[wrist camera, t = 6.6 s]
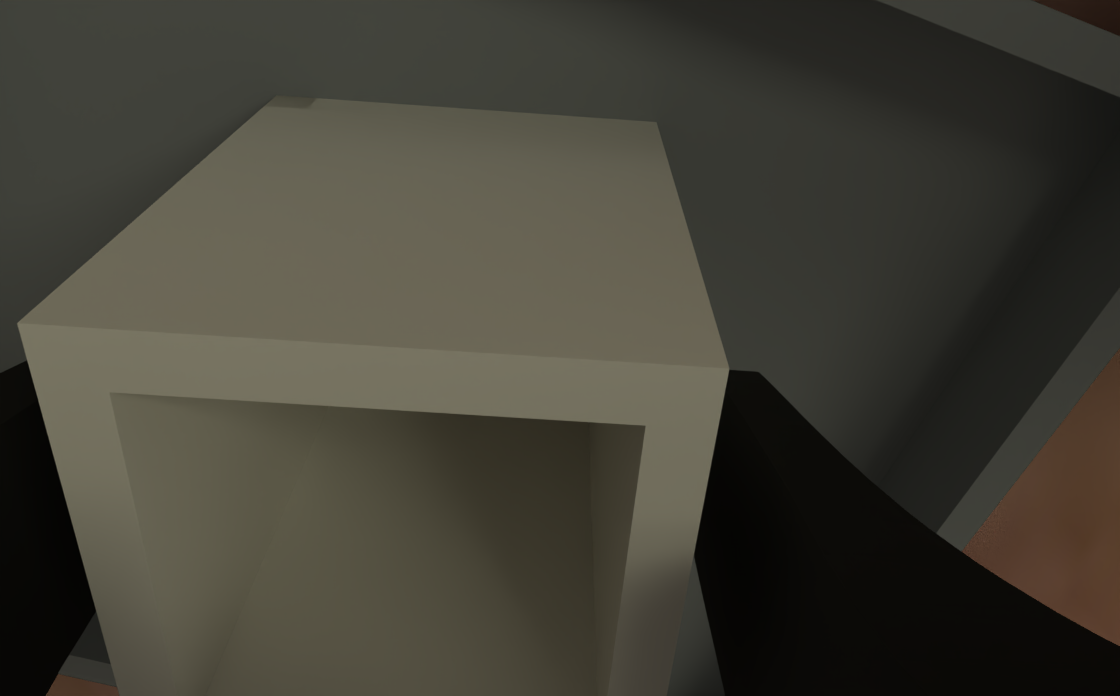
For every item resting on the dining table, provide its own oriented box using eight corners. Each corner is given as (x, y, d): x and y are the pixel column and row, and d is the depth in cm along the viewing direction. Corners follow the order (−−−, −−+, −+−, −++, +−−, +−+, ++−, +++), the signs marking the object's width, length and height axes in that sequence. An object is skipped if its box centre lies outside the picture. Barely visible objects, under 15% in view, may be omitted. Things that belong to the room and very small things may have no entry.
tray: (1162, 58, 14) (1302, 111, 11) (724, 707, 21) (745, 829, 19) (-82, -452, 11) (-290, -542, 8) (-70, 509, 18) (-175, 620, 16)
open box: (656, 121, 13) (729, 368, 7) (618, 430, 16) (647, 796, 10) (276, 94, 13) (16, 323, 7) (305, 411, 16) (140, 770, 10)
